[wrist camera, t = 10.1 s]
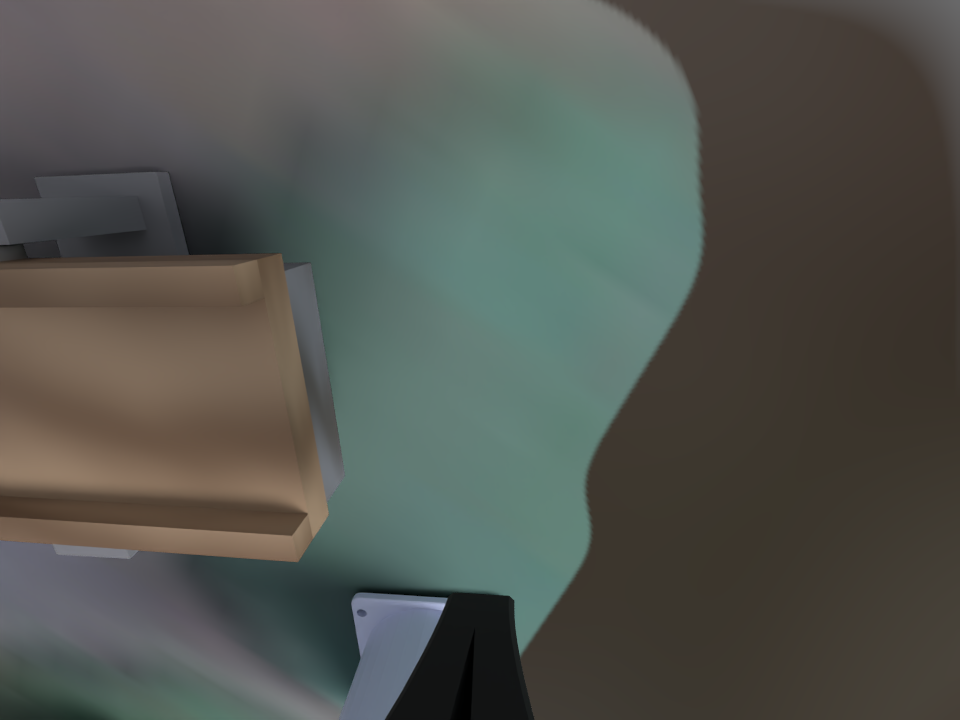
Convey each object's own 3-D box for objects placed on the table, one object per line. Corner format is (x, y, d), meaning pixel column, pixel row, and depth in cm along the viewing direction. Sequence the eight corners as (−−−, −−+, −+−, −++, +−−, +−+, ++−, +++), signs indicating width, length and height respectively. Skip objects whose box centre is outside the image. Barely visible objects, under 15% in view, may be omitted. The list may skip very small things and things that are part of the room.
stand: (247, 486, 22) (161, 577, 17) (152, 483, 23) (40, 569, 18) (168, 172, 17) (13, 166, 12) (49, 177, 18) (-146, 173, 13)
